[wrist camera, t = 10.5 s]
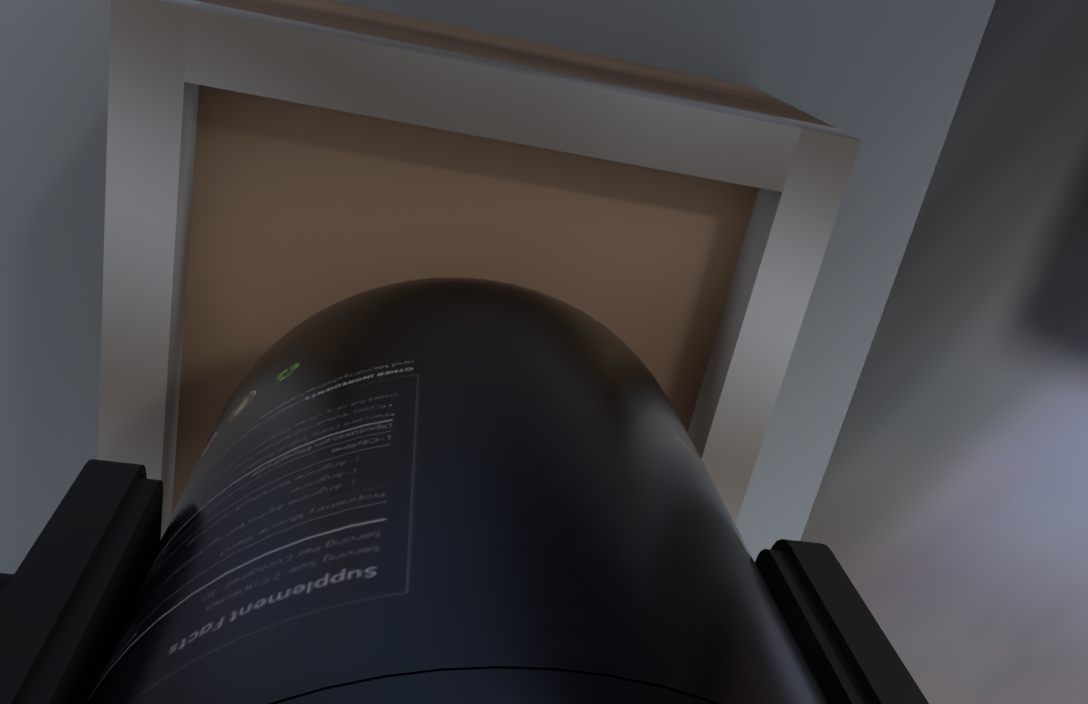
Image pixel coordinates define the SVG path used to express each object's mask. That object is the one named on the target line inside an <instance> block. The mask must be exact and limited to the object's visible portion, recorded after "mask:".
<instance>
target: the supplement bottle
mask: <svg viewBox="0 0 1088 704" xmlns="http://www.w3.org/2000/svg"><path fill="white" fill-rule="evenodd" d="M85 704H828V703H827V701H826V699H825V697H824V695H823V693H822V691H821V689H820V687H819V685H818V683H817V681H816V680H815V678H814V676H813V674H812V672H811V670H810V668H809V666H808V664H807V662H806V660H805V658H804V656H803V655H802V653H801V651H800V649H799V647H798V645H797V643H796V641H795V639H794V637H793V635H792V633H791V631H790V630H789V628H788V626H787V624H786V622H785V620H784V618H783V616H782V614H781V612H780V610H779V608H778V606H777V604H776V603H775V601H774V599H773V597H772V595H771V593H770V591H769V589H768V587H767V585H766V583H765V581H764V579H763V578H762V576H761V574H760V572H759V570H758V568H757V566H756V564H755V562H754V560H753V558H752V556H751V554H750V552H749V551H748V549H747V547H746V545H745V543H744V541H743V539H742V537H741V535H740V533H739V531H738V529H737V527H736V526H735V524H734V522H733V520H732V518H731V516H730V514H729V512H728V510H727V508H726V506H725V504H724V502H723V501H722V499H721V497H720V495H719V493H718V491H717V489H716V487H715V485H714V483H713V481H712V479H711V477H710V475H709V474H708V472H707V470H706V468H705V466H704V464H703V462H702V460H701V458H700V456H699V454H698V452H697V450H696V449H695V447H694V445H693V443H692V441H691V439H690V437H689V435H688V433H687V431H686V429H685V427H684V426H683V424H682V422H681V420H680V419H679V417H678V416H677V414H676V412H675V410H674V408H673V406H672V405H671V403H670V401H669V399H668V397H667V396H666V394H665V393H664V391H663V390H662V388H661V386H660V385H659V383H658V382H657V380H656V379H655V377H654V376H653V375H652V373H651V372H650V371H649V370H648V368H647V367H646V366H645V365H644V363H643V362H642V361H641V360H640V358H639V357H638V356H637V355H636V354H635V353H634V352H633V351H632V350H631V349H630V348H629V347H628V346H627V345H626V344H625V343H624V342H623V341H622V340H621V339H620V338H619V337H618V336H616V335H615V334H614V333H613V332H611V331H610V330H609V329H608V328H606V327H605V326H604V325H603V324H601V323H600V322H598V321H597V320H595V319H594V318H592V317H590V316H589V315H587V314H586V313H584V312H583V311H581V310H579V309H577V308H575V307H573V306H571V305H569V304H567V303H565V302H563V301H561V300H559V299H556V298H554V297H551V296H549V295H546V294H543V293H541V292H538V291H535V290H532V289H528V288H525V287H521V286H518V285H514V284H510V283H504V282H499V281H494V280H488V279H477V278H466V277H437V278H426V279H416V280H409V281H404V282H399V283H394V284H388V285H385V286H381V287H378V288H375V289H371V290H368V291H364V292H362V293H359V294H357V295H354V296H352V297H349V298H346V299H344V300H341V301H339V302H337V303H335V304H333V305H331V306H329V307H327V308H325V309H323V310H321V311H319V312H317V313H316V314H314V315H312V316H311V317H309V318H308V319H306V320H305V321H303V322H302V323H300V324H299V325H297V326H295V327H294V328H293V329H292V330H290V331H289V332H288V333H287V334H285V335H284V336H283V337H282V338H280V339H279V340H278V341H277V342H275V343H274V344H273V345H272V346H271V347H270V348H269V349H268V350H267V351H266V352H265V353H264V354H263V355H262V356H261V357H260V358H259V359H258V361H257V362H256V363H255V364H254V365H253V367H252V368H251V369H250V370H249V372H248V373H247V374H246V375H245V376H244V378H243V379H242V381H241V382H240V383H239V385H238V386H237V388H236V390H235V391H234V393H233V394H232V396H231V397H230V399H229V400H228V402H227V403H226V405H225V407H224V409H223V411H222V413H221V415H220V417H219V419H218V421H217V423H216V425H215V427H214V429H213V431H212V432H211V434H210V436H209V438H208V440H207V442H206V444H205V446H204V448H203V450H202V452H201V455H200V457H199V459H198V461H197V463H196V465H195V467H194V470H193V472H192V474H191V476H190V478H189V480H188V482H187V485H186V487H185V489H184V491H183V493H182V495H181V498H180V500H179V502H178V504H177V506H176V508H175V510H174V513H173V515H172V517H171V519H170V521H169V523H168V526H167V528H166V530H165V532H164V534H163V536H162V538H161V541H160V543H159V545H158V547H157V549H156V551H155V554H154V556H153V558H152V560H151V562H150V564H149V566H148V569H147V571H146V573H145V575H144V577H143V579H142V582H141V584H140V586H139V588H138V590H137V592H136V594H135V597H134V599H133V601H132V603H131V605H130V607H129V610H128V612H127V614H126V616H125V618H124V620H123V622H122V625H121V627H120V629H119V631H118V633H117V635H116V638H115V640H114V642H113V644H112V646H111V648H110V650H109V653H108V655H107V657H106V659H105V661H104V663H103V666H102V668H101V670H100V672H99V674H98V676H97V678H96V681H95V683H94V685H93V687H92V689H91V691H90V694H89V696H88V698H87V700H86V702H85Z"/></svg>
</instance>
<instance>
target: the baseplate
mask: <svg viewBox="0 0 1088 704" xmlns="http://www.w3.org/2000/svg"><path fill="white" fill-rule="evenodd" d="M331 1H336V2H341V3H345V4H350V5H355V6H360V7H365V8H370V9H375V10H380V11H385V12H390V13H394V14H399V15H404V16H409V17H414V18H419V19H424V20H429V21H434V22H439V23H443V24H448V25H453V26H458V27H463V28H468V29H473V30H478V31H483V32H488V33H493V34H497V35H502V36H507V37H512V38H517V39H522V40H527V41H532V42H537V43H542V44H546V45H551V46H556V47H561V48H566V49H571V50H576V51H581V52H586V53H591V54H595V55H600V56H605V57H610V58H615V59H620V60H625V61H630V62H635V63H640V64H645V65H649V66H654V67H659V68H664V69H669V70H674V71H679V72H684V73H689V74H694V75H698V76H703V77H708V78H713V79H718V80H723V81H728V82H733V83H738V84H743V85H747V86H752V87H755V88H757V89H759V90H761V91H763V92H765V93H767V94H769V95H771V96H773V97H775V98H777V99H779V100H781V101H783V102H785V103H787V104H789V105H791V106H793V107H795V108H797V109H799V110H801V111H803V112H805V113H807V114H809V115H811V116H813V117H815V118H817V119H819V120H821V121H823V122H825V123H827V124H829V125H831V126H833V127H835V128H837V129H839V130H841V131H843V132H845V133H847V134H849V135H851V136H853V137H855V138H857V139H859V140H861V145H860V148H859V151H858V154H857V157H856V160H855V163H854V166H853V169H852V172H851V175H850V178H849V181H848V184H847V187H846V190H845V193H844V196H843V199H842V202H841V205H840V208H839V211H838V214H837V217H836V221H835V224H834V227H833V230H832V233H831V236H830V239H829V242H828V245H827V248H826V251H825V254H824V257H823V260H822V263H821V266H820V269H819V272H818V275H817V278H816V281H815V284H814V287H813V290H812V293H811V296H810V300H809V303H808V306H807V309H806V312H805V315H804V318H803V321H802V324H801V327H800V330H799V333H798V336H797V339H796V342H795V345H794V348H793V351H792V354H791V357H790V360H789V363H788V366H787V369H786V372H785V376H784V379H783V382H782V385H781V388H780V391H779V394H778V397H777V400H776V403H775V406H774V409H773V412H772V415H771V418H770V421H769V424H768V427H767V430H766V433H765V436H764V439H763V442H762V445H761V448H760V452H759V455H758V458H757V461H756V464H755V467H754V470H753V473H752V476H751V479H750V482H749V485H748V488H747V491H746V494H745V497H744V500H743V503H742V506H741V509H740V512H739V515H738V518H737V521H736V524H735V526H736V527H737V529H738V531H739V533H740V535H741V537H742V539H743V541H744V543H745V545H746V547H747V549H748V551H749V552H750V554H751V556H752V558H753V560H754V562H755V561H756V558H757V556H758V554H759V553H760V552H761V550H763V549H771V548H772V546H773V545H774V543H775V542H776V541H778V540H780V539H786V540H795V541H800V540H801V537H802V534H803V531H804V529H805V526H806V523H807V520H808V518H809V515H810V512H811V509H812V507H813V504H814V501H815V498H816V495H817V493H818V490H819V487H820V484H821V482H822V479H823V476H824V473H825V471H826V468H827V465H828V462H829V460H830V457H831V454H832V451H833V449H834V446H835V443H836V440H837V437H838V435H839V432H840V429H841V426H842V424H843V421H844V418H845V415H846V413H847V410H848V407H849V404H850V402H851V399H852V396H853V393H854V391H855V388H856V385H857V382H858V379H859V377H860V374H861V371H862V368H863V366H864V363H865V360H866V357H867V355H868V352H869V349H870V346H871V344H872V341H873V338H874V335H875V333H876V330H877V327H878V324H879V321H880V319H881V316H882V313H883V310H884V308H885V305H886V302H887V299H888V297H889V294H890V291H891V288H892V286H893V283H894V280H895V277H896V275H897V272H898V269H899V266H900V263H901V261H902V258H903V255H904V252H905V250H906V247H907V244H908V241H909V239H910V236H911V233H912V230H913V228H914V225H915V222H916V219H917V217H918V214H919V211H920V208H921V205H922V203H923V200H924V197H925V194H926V192H927V189H928V186H929V183H930V181H931V178H932V175H933V172H934V170H935V167H936V164H937V161H938V159H939V156H940V153H941V150H942V148H943V145H944V142H945V139H946V136H947V134H948V131H949V128H950V125H951V123H952V120H953V117H954V114H955V112H956V109H957V106H958V103H959V101H960V98H961V95H962V92H963V90H964V87H965V84H966V81H967V78H968V76H969V73H970V70H971V67H972V65H973V62H974V59H975V56H976V54H977V51H978V48H979V45H980V43H981V40H982V37H983V34H984V32H985V29H986V26H987V23H988V20H989V18H990V15H991V12H992V9H993V7H994V4H995V1H996V0H331ZM110 20H111V0H0V573H6V574H15V572H16V571H17V569H18V567H19V566H20V564H21V563H22V561H23V560H24V558H25V557H26V555H27V554H28V552H29V550H30V549H31V547H32V546H33V544H34V543H35V541H36V540H37V538H38V537H39V535H40V533H41V532H42V530H43V529H44V527H45V526H46V524H47V523H48V521H49V520H50V518H51V516H52V515H53V513H54V512H55V510H56V509H57V507H58V506H59V504H60V502H61V501H62V499H63V498H64V496H65V495H66V493H67V492H68V490H69V489H70V487H71V485H72V484H73V482H74V481H75V479H76V478H77V476H78V475H79V473H80V472H81V470H82V468H83V467H84V465H85V464H86V463H87V462H88V461H89V460H90V459H97V460H98V435H99V400H100V365H101V331H102V296H103V262H104V227H105V193H106V158H107V124H108V89H109V55H110Z"/></svg>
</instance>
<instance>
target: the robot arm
mask: <svg viewBox="0 0 1088 704" xmlns="http://www.w3.org/2000/svg"><path fill="white" fill-rule="evenodd" d="M162 506H163V482H162V480H156V479H147V473H146V468H145V466H144V465H140V464H132V463H123V462H115V461H106V460H97V459H90V460H89V461H88V462H87V463H86V464H85V465H84V467H83V468H82V470H81V472H80V473H79V475H78V476H77V478H76V479H75V481H74V482H73V484H72V485H71V487H70V489H69V490H68V492H67V493H66V495H65V496H64V498H63V499H62V501H61V502H60V504H59V506H58V507H57V509H56V510H55V512H54V513H53V515H52V516H51V518H50V520H49V521H48V523H47V524H46V526H45V527H44V529H43V530H42V532H41V533H40V535H39V537H38V538H37V540H36V541H35V543H34V544H33V546H32V547H31V549H30V550H29V552H28V554H27V555H26V557H25V558H24V560H23V561H22V563H21V564H20V566H19V567H18V569H17V571H16V572H15V574H6V573H0V704H85V702H86V700H87V698H88V696H89V694H90V691H91V689H92V687H93V685H94V683H95V681H96V678H97V676H98V674H99V672H100V670H101V668H102V666H103V663H104V661H105V659H106V657H107V655H108V653H109V650H110V648H111V646H112V644H113V642H114V640H115V638H116V635H117V633H118V631H119V629H120V627H121V625H122V622H123V620H124V618H125V616H126V614H127V612H128V610H129V607H130V605H131V603H132V601H133V599H134V597H135V594H136V592H137V590H138V588H139V586H140V584H141V582H142V579H143V577H144V575H145V573H146V571H147V569H148V566H149V564H150V562H151V560H152V558H153V556H154V554H155V551H156V549H157V547H158V545H159V543H160V539H161V522H162ZM755 564H756V566H757V568H758V570H759V572H760V574H761V576H762V578H763V579H764V581H765V583H766V585H767V587H768V589H769V591H770V593H771V595H772V597H773V599H774V601H775V603H776V604H777V606H778V608H779V610H780V612H781V614H782V616H783V618H784V620H785V622H786V624H787V626H788V628H789V630H790V631H791V633H792V635H793V637H794V639H795V641H796V643H797V645H798V647H799V649H800V651H801V653H802V655H803V656H804V658H805V660H806V662H807V664H808V666H809V668H810V670H811V672H812V674H813V676H814V678H815V680H816V681H817V683H818V685H819V687H820V689H821V691H822V693H823V695H824V697H825V699H826V701H827V703H828V704H929V703H928V701H927V700H926V698H925V697H924V695H923V694H922V692H921V691H920V689H919V687H918V686H917V684H916V683H915V681H914V680H913V678H912V676H911V675H910V673H909V672H908V670H907V669H906V667H905V665H904V664H903V662H902V661H901V659H900V658H899V656H898V655H897V653H896V651H895V650H894V648H893V647H892V645H891V644H890V642H889V640H888V639H887V637H886V636H885V634H884V633H883V631H882V629H881V628H880V626H879V625H878V623H877V622H876V620H875V619H874V617H873V615H872V614H871V612H870V611H869V609H868V608H867V606H866V604H865V603H864V601H863V600H862V598H861V597H860V595H859V593H858V592H857V590H856V589H855V587H854V586H853V584H852V583H851V581H850V579H849V578H848V576H847V575H846V573H845V572H844V570H843V568H842V567H841V565H840V564H839V562H838V561H837V559H836V558H835V556H834V554H833V553H832V551H831V550H830V549H829V548H828V547H827V545H824V544H820V543H812V542H803V541H795V540H786V539H780V540H778V541H776V542H775V543H774V545H773V546H772V548H771V549H763V550H761V552H760V553H759V554H758V556H757V558H756V561H755Z"/></svg>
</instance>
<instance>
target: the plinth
mask: <svg viewBox="0 0 1088 704" xmlns="http://www.w3.org/2000/svg"><path fill="white" fill-rule="evenodd" d="M860 145H861V140H859V139H857V138H855V137H853V136H851V135H849V134H847V133H845V132H843V131H841V130H839V129H837V128H835V127H833V126H831V125H829V124H827V123H825V122H823V121H821V120H819V119H817V118H815V117H813V116H811V115H809V114H807V113H805V112H803V111H801V110H799V109H797V108H795V107H793V106H791V105H789V104H787V103H785V102H783V101H781V100H779V99H777V98H775V97H773V96H771V95H769V94H767V93H765V92H763V91H761V90H759V89H757V88H755V87H752V86H747V85H743V84H738V83H733V82H728V81H723V80H718V79H713V78H708V77H703V76H698V75H694V74H689V73H684V72H679V71H674V70H669V69H664V68H659V67H654V66H649V65H645V64H640V63H635V62H630V61H625V60H620V59H615V58H610V57H605V56H600V55H595V54H591V53H586V52H581V51H576V50H571V49H566V48H561V47H556V46H551V45H546V44H542V43H537V42H532V41H527V40H522V39H517V38H512V37H507V36H502V35H497V34H493V33H488V32H483V31H478V30H473V29H468V28H463V27H458V26H453V25H448V24H443V23H439V22H434V21H429V20H424V19H419V18H414V17H409V16H404V15H399V14H394V13H390V12H385V11H380V10H375V9H370V8H365V7H360V6H355V5H350V4H345V3H341V2H336V1H331V0H111V20H110V55H109V89H108V124H107V158H106V193H105V227H104V262H103V296H102V331H101V365H100V400H99V435H98V460H106V461H115V462H123V463H132V464H140V465H144V466H145V468H146V473H147V479H156V480H162V482H163V506H162V522H161V538H162V536H163V534H164V532H165V530H166V528H167V526H168V523H169V521H170V519H171V517H172V515H173V513H174V510H175V508H176V506H177V504H178V502H179V500H180V498H181V495H182V493H183V491H184V489H185V487H186V485H187V482H188V480H189V478H190V476H191V474H192V472H193V470H194V467H195V465H196V463H197V461H198V459H199V457H200V455H201V452H202V450H203V448H204V446H205V444H206V442H207V440H208V438H209V436H210V434H211V432H212V431H213V429H214V427H215V425H216V423H217V421H218V419H219V417H220V415H221V413H222V411H223V409H224V407H225V405H226V403H227V402H228V400H229V399H230V397H231V396H232V394H233V393H234V391H235V390H236V388H237V386H238V385H239V383H240V382H241V381H242V379H243V378H244V376H245V375H246V374H247V373H248V372H249V370H250V369H251V368H252V367H253V365H254V364H255V363H256V362H257V361H258V359H259V358H260V357H261V356H262V355H263V354H264V353H265V352H266V351H267V350H268V349H269V348H270V347H271V346H272V345H273V344H274V343H275V342H277V341H278V340H279V339H280V338H282V337H283V336H284V335H285V334H287V333H288V332H289V331H290V330H292V329H293V328H294V327H295V326H297V325H299V324H300V323H302V322H303V321H305V320H306V319H308V318H309V317H311V316H312V315H314V314H316V313H317V312H319V311H321V310H323V309H325V308H327V307H329V306H331V305H333V304H335V303H337V302H339V301H341V300H344V299H346V298H349V297H352V296H354V295H357V294H359V293H362V292H364V291H368V290H371V289H375V288H378V287H381V286H385V285H388V284H394V283H399V282H404V281H409V280H416V279H426V278H437V277H466V278H477V279H488V280H494V281H499V282H504V283H510V284H514V285H518V286H521V287H525V288H528V289H532V290H535V291H538V292H541V293H543V294H546V295H549V296H551V297H554V298H556V299H559V300H561V301H563V302H565V303H567V304H569V305H571V306H573V307H575V308H577V309H579V310H581V311H583V312H584V313H586V314H587V315H589V316H590V317H592V318H594V319H595V320H597V321H598V322H600V323H601V324H603V325H604V326H605V327H606V328H608V329H609V330H610V331H611V332H613V333H614V334H615V335H616V336H618V337H619V338H620V339H621V340H622V341H623V342H624V343H625V344H626V345H627V346H628V347H629V348H630V349H631V350H632V351H633V352H634V353H635V354H636V355H637V356H638V357H639V358H640V360H641V361H642V362H643V363H644V365H645V366H646V367H647V368H648V370H649V371H650V372H651V373H652V375H653V376H654V377H655V379H656V380H657V382H658V383H659V385H660V386H661V388H662V390H663V391H664V393H665V394H666V396H667V397H668V399H669V401H670V403H671V405H672V406H673V408H674V410H675V412H676V414H677V416H678V417H679V419H680V420H681V422H682V424H683V426H684V427H685V429H686V431H687V433H688V435H689V437H690V439H691V441H692V443H693V445H694V447H695V449H696V450H697V452H698V454H699V456H700V458H701V460H702V462H703V464H704V466H705V468H706V470H707V472H708V474H709V475H710V477H711V479H712V481H713V483H714V485H715V487H716V489H717V491H718V493H719V495H720V497H721V499H722V501H723V502H724V504H725V506H726V508H727V510H728V512H729V514H730V516H731V518H732V520H733V522H734V524H736V521H737V518H738V515H739V512H740V509H741V506H742V503H743V500H744V497H745V494H746V491H747V488H748V485H749V482H750V479H751V476H752V473H753V470H754V467H755V464H756V461H757V458H758V455H759V452H760V448H761V445H762V442H763V439H764V436H765V433H766V430H767V427H768V424H769V421H770V418H771V415H772V412H773V409H774V406H775V403H776V400H777V397H778V394H779V391H780V388H781V385H782V382H783V379H784V376H785V372H786V369H787V366H788V363H789V360H790V357H791V354H792V351H793V348H794V345H795V342H796V339H797V336H798V333H799V330H800V327H801V324H802V321H803V318H804V315H805V312H806V309H807V306H808V303H809V300H810V296H811V293H812V290H813V287H814V284H815V281H816V278H817V275H818V272H819V269H820V266H821V263H822V260H823V257H824V254H825V251H826V248H827V245H828V242H829V239H830V236H831V233H832V230H833V227H834V224H835V221H836V217H837V214H838V211H839V208H840V205H841V202H842V199H843V196H844V193H845V190H846V187H847V184H848V181H849V178H850V175H851V172H852V169H853V166H854V163H855V160H856V157H857V154H858V151H859V148H860ZM160 541H161V539H160Z"/></svg>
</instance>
